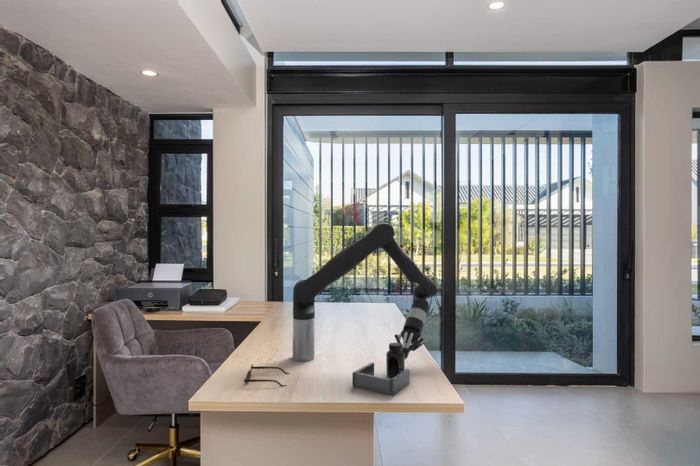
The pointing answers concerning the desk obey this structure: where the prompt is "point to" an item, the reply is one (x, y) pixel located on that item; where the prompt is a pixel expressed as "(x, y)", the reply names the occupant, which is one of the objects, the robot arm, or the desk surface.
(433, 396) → the desk surface
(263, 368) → the eyeglasses
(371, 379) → the bracket
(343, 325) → the desk surface
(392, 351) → the supplement bottle
